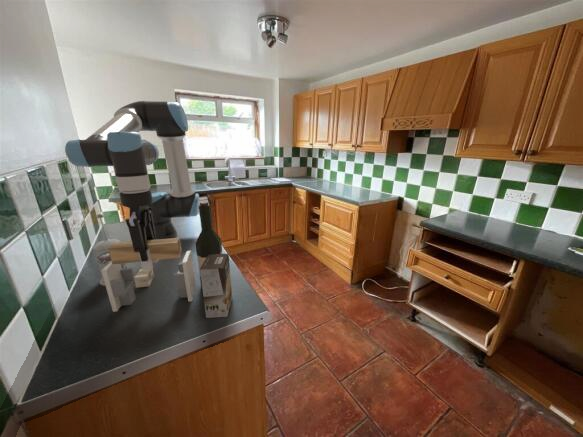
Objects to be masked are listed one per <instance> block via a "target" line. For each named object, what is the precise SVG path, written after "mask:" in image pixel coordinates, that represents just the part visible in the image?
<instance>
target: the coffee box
mask: <svg viewBox="0 0 583 437" xmlns="http://www.w3.org/2000/svg"><path fill="white" fill-rule="evenodd" d="M200 273H201V281H202V287H201V288H202V296H203V304H204V311H205V318H206V319H209V318H210V319H212V318H226V317H228V316H229V311H230V308H231V303H232V301H233V290H232V289H233V288H232V280H231V278H232V277H231V267H230V254H229V253H223V254H214V255H208V256H207V258H206V259H205V261H204V263H203V264H202V266H201V268H200ZM201 281H200V282H201Z"/></svg>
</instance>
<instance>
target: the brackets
mask: <svg viewBox="0 0 583 437" xmlns="http://www.w3.org/2000/svg"><path fill="white" fill-rule="evenodd" d="M108 263H109V264H108ZM108 263H107V264H108V265H107V266H106V267H105V268H104V269H103V270H102V275H103V278H104V282H105V285H106V286H105V288H106V293H107V295H108V298H109V302H110V306H111V309H112V312H113V313H115V312H118V311H119V309H120V308H121V307H122V306H130V305H133V304H134V302H135V300H136V294H135V290H134V286H133V285H134V284H135V278H134V277H135V274H134V271H133V267H127V268H126V267H124V269H122V268H121V264H112V261H109V262H108ZM177 266H178V271H179V272H180V273H178V272H175V273H173V281H174V285H175V290H178V295H179V299H182V298H187V301H188V302H189V303H190V302H193V299H194V296H195V292H196V288H197V284H196V278H195V269H194V264H193V256H192V250H186V252H185V255H184V257H183V259H182V262H179V263H178V265H177ZM102 275H101V276H102Z"/></svg>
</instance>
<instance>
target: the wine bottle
mask: <svg viewBox="0 0 583 437" xmlns="http://www.w3.org/2000/svg"><path fill="white" fill-rule="evenodd" d="M211 212H212V210H211V205H210V203H209V202H208V201H201V202H200V203H199V212H198V214H199V219H200V226H201V231H200V233H199V235H198V237H197V240H196V241H195V243H194V244H195V251H196V258H197V259H196V260H197V265H198V273H199V280H200V287H201V288H202V281H201V273H200V268H201V266H202V264H203V263H204V261H205V259H206V258H207V256H208V255H214V254H224V253H223V244H222V238H221V237H220V235H218V233H217V232H216V231H215V230H214V229H213V222H212V213H211Z"/></svg>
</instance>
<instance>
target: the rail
mask: <svg viewBox="0 0 583 437" xmlns="http://www.w3.org/2000/svg"><path fill="white" fill-rule="evenodd" d="M147 246H148V249H150V254H151V259H152V260H158V261H159V260H160V261H162V260H168V259H169V260H170V259H171V260H172V259H179V258H180V257H181V255H182V253H183V250H182V243H181V238H180V237H175V238H170V239H157V240H147ZM108 249H109V250H108V252H109V253H110V257H111V260H112V264H120V263H126V264H127V263H128V264H129V263H139V262H140V263H141V261H140V256H139V252H134V249H133V244H132V241H123V242H122V241H121V242H120V243H114V244H113V245H112V246H111V247H110V248H108Z"/></svg>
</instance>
